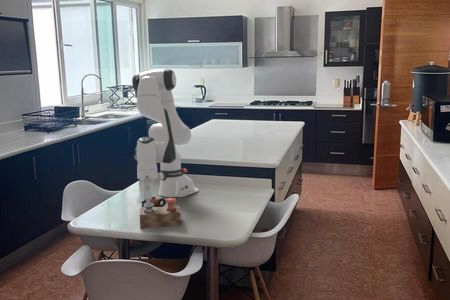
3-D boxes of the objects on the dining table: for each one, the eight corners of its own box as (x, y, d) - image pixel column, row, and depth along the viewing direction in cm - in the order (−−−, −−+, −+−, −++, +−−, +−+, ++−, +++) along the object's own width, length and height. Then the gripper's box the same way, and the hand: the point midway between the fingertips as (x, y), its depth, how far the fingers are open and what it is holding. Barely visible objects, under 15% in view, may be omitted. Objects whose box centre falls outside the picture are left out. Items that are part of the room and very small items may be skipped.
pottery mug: (146, 217, 221) (140, 201, 223) (145, 219, 230) (138, 204, 231) (170, 207, 225) (163, 191, 227) (167, 210, 234) (161, 195, 235)
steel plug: (154, 216, 213) (154, 202, 211) (154, 219, 208) (154, 205, 207) (144, 217, 212) (143, 202, 211) (144, 220, 208) (143, 205, 206)
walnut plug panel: (179, 218, 218) (179, 205, 216) (181, 225, 208) (180, 212, 207) (140, 220, 215) (140, 207, 214) (140, 227, 205) (139, 215, 204)
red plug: (176, 211, 214) (175, 197, 212) (176, 214, 209) (176, 200, 208) (166, 212, 213) (165, 197, 212) (166, 215, 209) (165, 200, 207)
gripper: (154, 179, 197) (155, 210, 199) (154, 168, 216) (155, 197, 219) (139, 180, 196) (140, 211, 198) (140, 169, 216) (142, 197, 218)
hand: (148, 204), depth 209 cm, fingers closed, pressing on steel plug
